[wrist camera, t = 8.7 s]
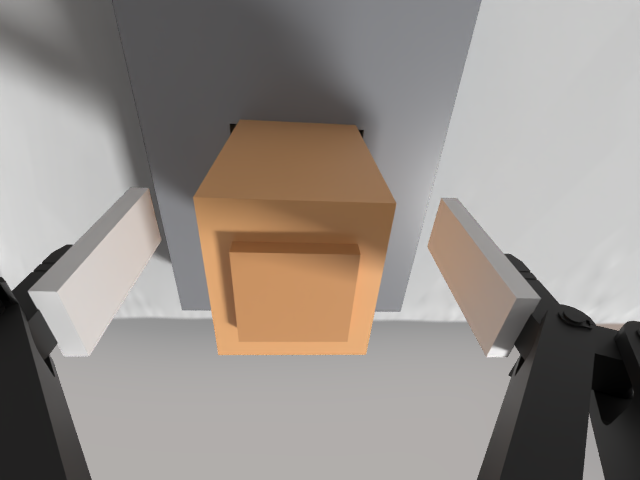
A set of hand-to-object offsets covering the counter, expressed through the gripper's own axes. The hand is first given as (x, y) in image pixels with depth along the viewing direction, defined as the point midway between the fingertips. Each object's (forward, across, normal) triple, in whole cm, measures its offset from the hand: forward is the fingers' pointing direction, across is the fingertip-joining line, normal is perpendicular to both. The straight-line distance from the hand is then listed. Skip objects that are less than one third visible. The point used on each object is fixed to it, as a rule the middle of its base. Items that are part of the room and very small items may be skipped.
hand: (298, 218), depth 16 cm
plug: (+7, 0, 0) cm, 7 cm away
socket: (+8, 0, 0) cm, 8 cm away
